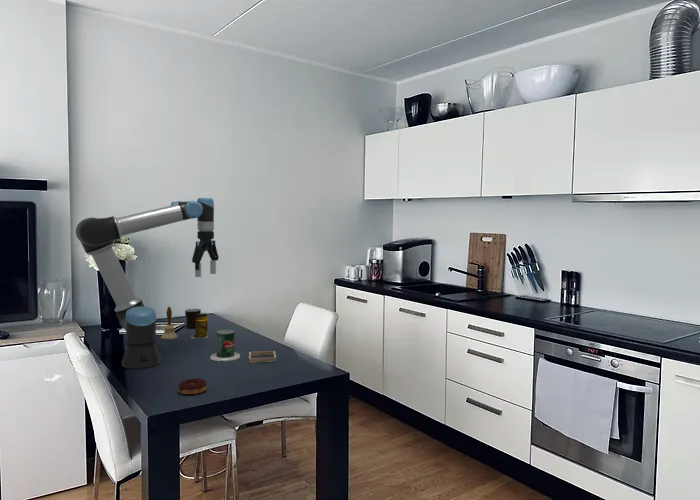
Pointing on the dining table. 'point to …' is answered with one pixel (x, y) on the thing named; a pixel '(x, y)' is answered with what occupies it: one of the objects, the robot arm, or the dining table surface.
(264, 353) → the wooden tray
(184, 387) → the donut
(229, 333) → the canned tomato
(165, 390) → the dining table surface
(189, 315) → the coffee mug
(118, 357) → the dining table surface
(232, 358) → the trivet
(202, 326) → the condiment
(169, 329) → the hand bell
